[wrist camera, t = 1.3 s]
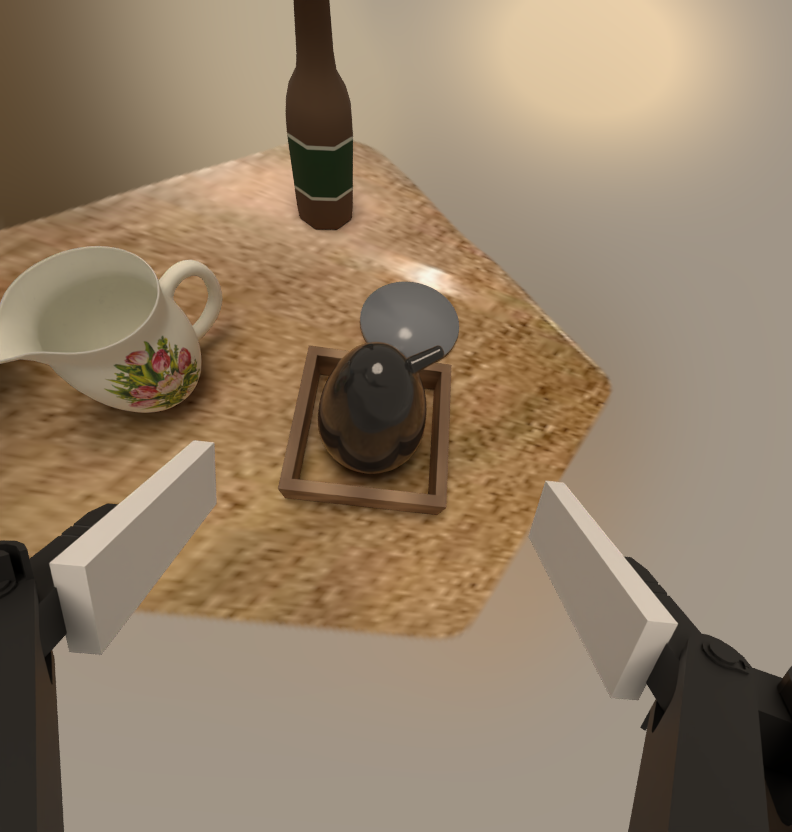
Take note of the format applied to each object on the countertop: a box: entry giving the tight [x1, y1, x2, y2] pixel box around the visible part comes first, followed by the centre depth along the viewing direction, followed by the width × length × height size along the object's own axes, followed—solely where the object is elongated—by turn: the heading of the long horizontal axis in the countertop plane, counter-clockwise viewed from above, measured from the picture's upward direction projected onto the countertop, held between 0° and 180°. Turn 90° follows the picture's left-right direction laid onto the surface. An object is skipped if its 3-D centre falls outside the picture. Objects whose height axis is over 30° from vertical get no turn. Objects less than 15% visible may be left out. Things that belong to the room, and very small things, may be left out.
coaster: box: [360, 282, 459, 357], centre depth 47 cm, size 12×12×1 cm
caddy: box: [278, 346, 451, 515], centre depth 39 cm, size 15×15×4 cm
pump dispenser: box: [318, 342, 444, 474], centre depth 34 cm, size 10×10×15 cm
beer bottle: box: [286, 0, 353, 230], centre depth 42 cm, size 8×8×24 cm
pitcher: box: [0, 246, 222, 413], centre depth 35 cm, size 11×18×14 cm, turn 141°
